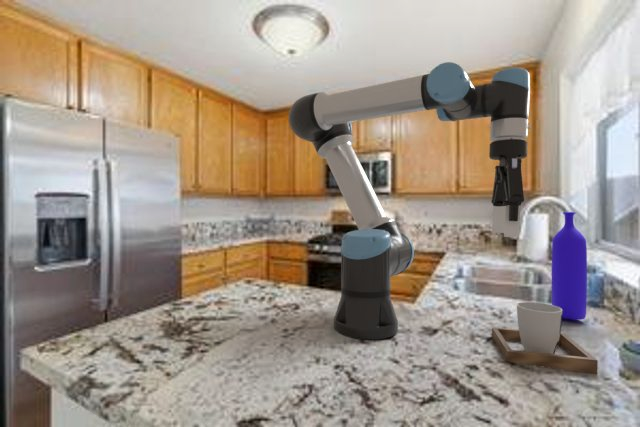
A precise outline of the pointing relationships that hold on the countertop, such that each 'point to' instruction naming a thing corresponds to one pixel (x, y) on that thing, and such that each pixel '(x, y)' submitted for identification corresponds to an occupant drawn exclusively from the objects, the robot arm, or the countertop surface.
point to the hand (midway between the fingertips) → (504, 235)
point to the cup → (539, 326)
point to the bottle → (569, 270)
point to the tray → (576, 362)
